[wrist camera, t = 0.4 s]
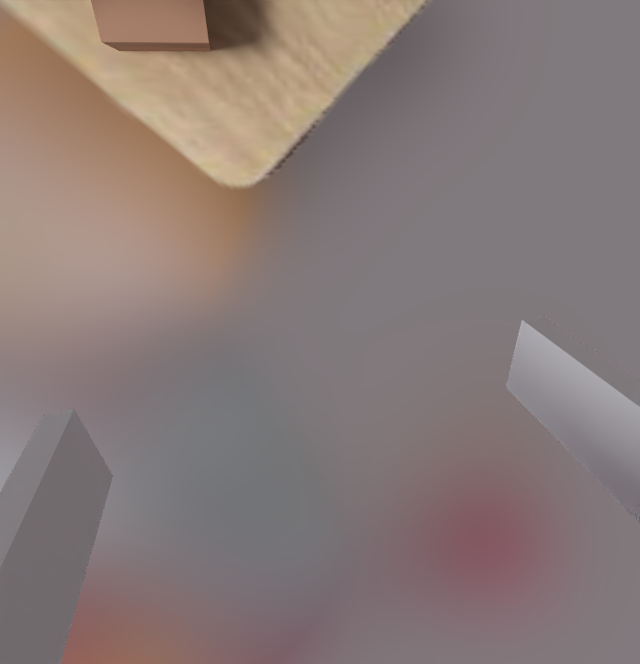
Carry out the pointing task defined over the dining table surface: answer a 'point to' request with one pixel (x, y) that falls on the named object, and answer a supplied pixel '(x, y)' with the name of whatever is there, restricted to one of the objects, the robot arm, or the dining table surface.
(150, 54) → the dining table surface
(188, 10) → the cherry bar
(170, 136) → the dining table surface
